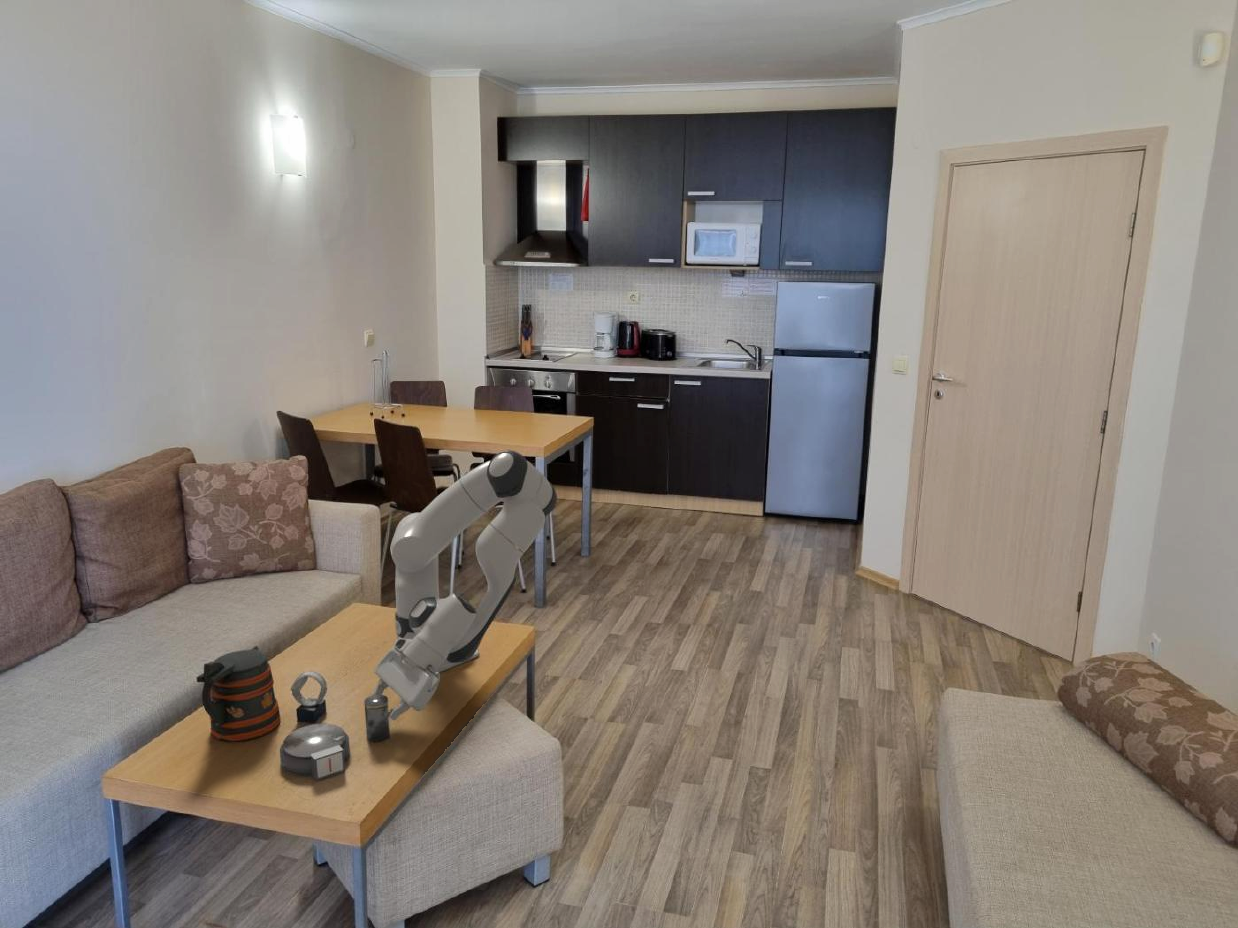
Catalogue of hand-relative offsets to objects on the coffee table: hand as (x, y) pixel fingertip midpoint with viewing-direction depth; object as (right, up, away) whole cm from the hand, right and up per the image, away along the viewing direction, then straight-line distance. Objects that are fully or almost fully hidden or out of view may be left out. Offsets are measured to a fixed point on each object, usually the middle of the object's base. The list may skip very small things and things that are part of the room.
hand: (381, 709), depth 195 cm
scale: (-11, -8, -8) cm, 17 cm away
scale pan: (-12, -5, -8) cm, 15 cm away
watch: (-19, -5, +10) cm, 22 cm away
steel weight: (-1, -6, +1) cm, 7 cm away
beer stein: (-33, -6, +3) cm, 34 cm away
